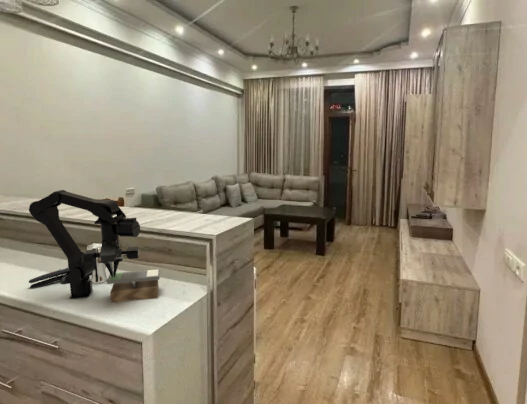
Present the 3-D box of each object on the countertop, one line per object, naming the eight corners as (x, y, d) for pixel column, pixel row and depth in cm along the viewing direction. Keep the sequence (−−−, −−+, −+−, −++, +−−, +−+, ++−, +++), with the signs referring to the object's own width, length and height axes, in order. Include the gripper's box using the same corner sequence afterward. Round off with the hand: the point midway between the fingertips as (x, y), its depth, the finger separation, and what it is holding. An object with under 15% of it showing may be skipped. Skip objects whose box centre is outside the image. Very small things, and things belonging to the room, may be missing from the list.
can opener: (79, 275, 152) (77, 263, 151) (80, 281, 146) (79, 268, 145) (29, 285, 142) (27, 272, 141) (29, 292, 137) (27, 278, 136)
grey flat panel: (107, 286, 127) (106, 280, 127) (110, 278, 134) (110, 272, 133) (159, 281, 132) (159, 275, 131) (160, 274, 138) (159, 268, 138)
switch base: (111, 302, 128) (109, 288, 127) (115, 291, 136) (113, 278, 135) (157, 297, 132) (156, 283, 130) (158, 287, 140) (157, 273, 139)
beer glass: (101, 284, 142) (97, 249, 139) (86, 283, 144) (82, 248, 141) (112, 277, 149) (108, 243, 146) (97, 276, 150) (93, 242, 147)
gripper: (75, 244, 118) (80, 288, 121) (135, 240, 122) (138, 282, 125) (83, 234, 128) (87, 275, 131) (138, 231, 133) (141, 270, 136)
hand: (113, 276), depth 131 cm, fingers closed, pressing on grey flat panel
